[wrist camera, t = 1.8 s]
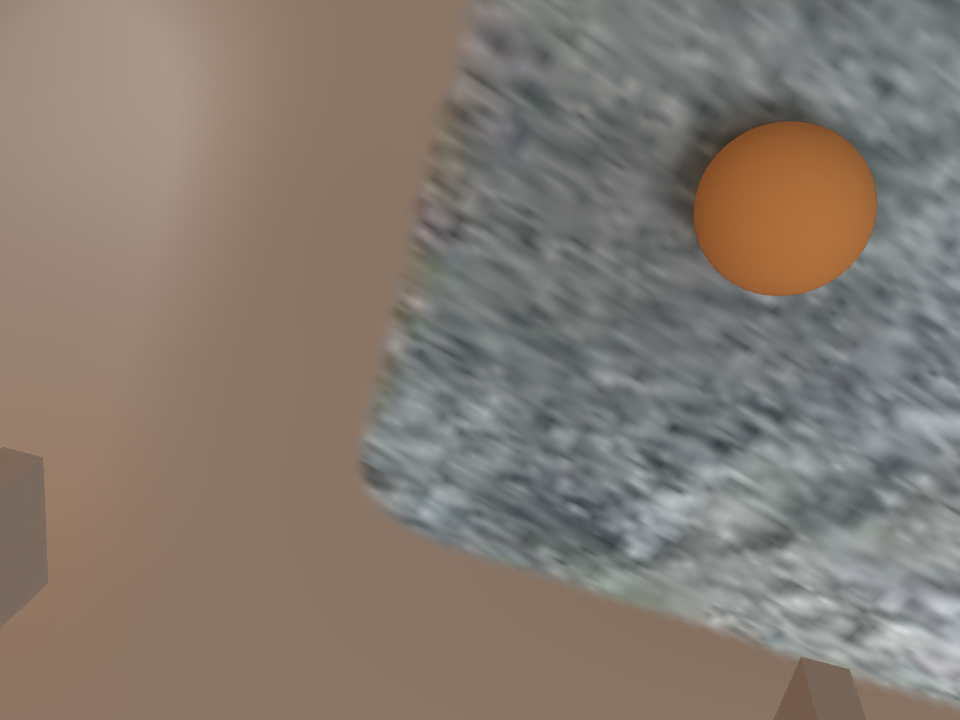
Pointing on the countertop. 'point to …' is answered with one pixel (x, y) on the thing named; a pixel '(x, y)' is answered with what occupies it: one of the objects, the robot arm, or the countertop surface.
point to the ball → (785, 208)
